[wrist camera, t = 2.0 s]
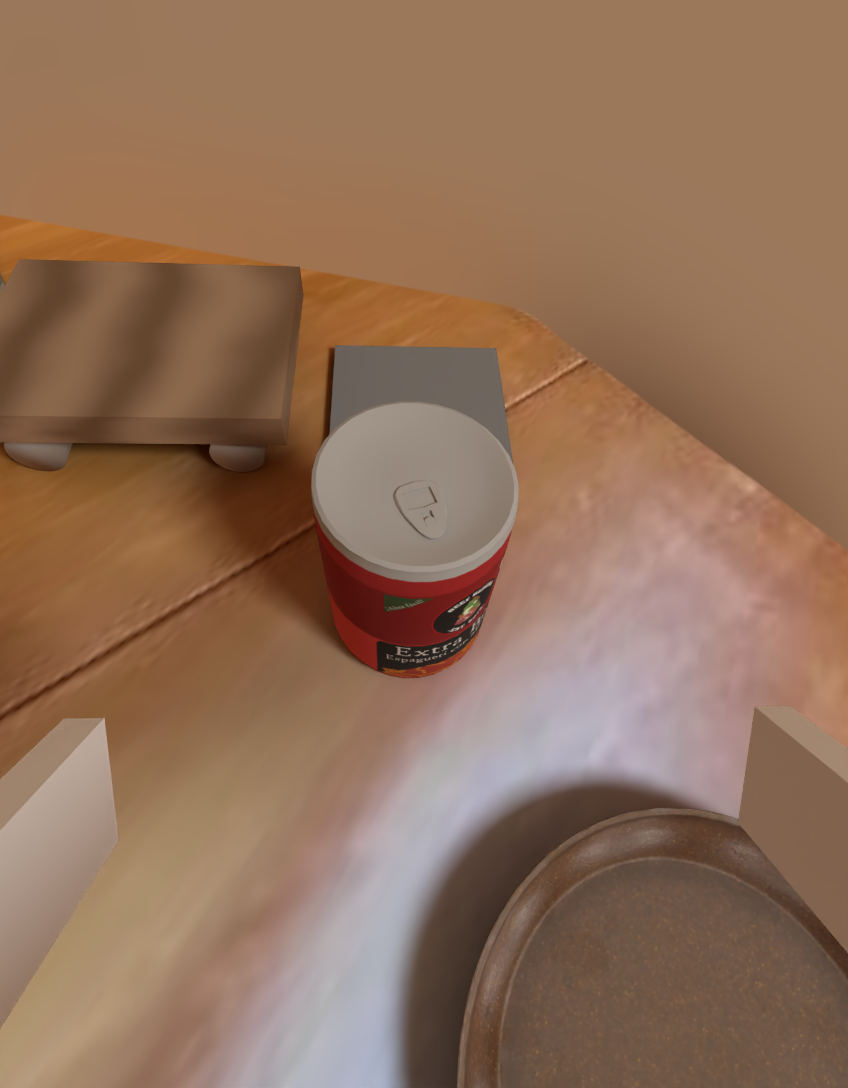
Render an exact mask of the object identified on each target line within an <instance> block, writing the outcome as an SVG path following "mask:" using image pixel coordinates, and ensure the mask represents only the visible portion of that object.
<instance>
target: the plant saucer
mask: <svg viewBox="0 0 848 1088" xmlns="http://www.w3.org/2000/svg"><path fill="white" fill-rule="evenodd" d="M457 1088H848V953H847V952H846V950H845V949H844V948H843V947H842V946H841V944H840V943H839V942H838V941H837V940H836V939H835V937H834V936H833V935H832V934H831V933H830V931H829V930H828V929H827V928H826V927H825V925H824V924H823V923H822V922H821V921H820V920H819V918H818V917H817V916H816V915H815V914H814V912H813V911H812V910H811V909H810V908H809V906H808V905H807V904H806V903H805V902H804V901H803V899H802V898H801V897H800V896H799V895H798V893H797V892H796V891H795V890H794V889H793V887H792V886H791V885H790V884H789V883H788V882H787V880H786V879H785V878H784V877H783V876H782V874H781V873H780V872H779V871H778V870H777V868H776V867H775V866H774V865H773V864H772V862H771V861H770V860H769V859H768V858H767V857H766V855H765V854H764V853H763V852H762V851H761V849H760V848H759V847H758V846H757V845H756V843H755V842H754V841H753V840H752V839H751V838H750V836H749V835H748V834H747V833H746V832H745V830H744V829H743V828H742V827H741V826H740V824H739V823H738V819H736V818H733V817H730V816H726V815H723V814H718V813H714V812H709V811H703V810H696V809H687V808H654V809H647V810H640V811H634V812H629V813H625V814H621V815H618V816H614V817H611V818H609V819H606V820H603V821H601V822H598V823H596V824H594V825H592V826H590V827H588V828H586V829H584V830H582V831H580V832H578V833H577V834H575V835H574V836H572V837H570V838H569V839H567V840H566V841H565V842H563V843H562V844H560V845H559V846H558V847H556V848H555V849H554V850H553V851H551V852H550V853H549V854H548V855H547V856H546V857H544V858H543V859H542V860H541V861H540V862H539V863H538V864H537V865H536V866H535V867H534V868H533V870H532V871H531V872H530V873H529V874H528V875H527V876H526V877H525V878H524V880H523V881H522V882H521V883H520V884H519V886H518V887H517V888H516V890H515V891H514V893H513V894H512V896H511V897H510V899H509V900H508V901H507V903H506V904H505V906H504V908H503V910H502V911H501V913H500V915H499V917H498V918H497V920H496V922H495V924H494V926H493V928H492V930H491V932H490V934H489V936H488V938H487V940H486V943H485V945H484V948H483V950H482V952H481V955H480V958H479V961H478V964H477V967H476V970H475V973H474V976H473V979H472V983H471V986H470V989H469V993H468V997H467V1002H466V1006H465V1011H464V1017H463V1024H462V1029H461V1035H460V1043H459V1052H458V1072H457Z"/></svg>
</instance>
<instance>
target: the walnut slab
mask: <svg viewBox="0 0 848 1088" xmlns="http://www.w3.org/2000/svg"><path fill="white" fill-rule="evenodd" d="M302 303H303V288H302V281H301V273H300V267H287V266H250V265H213V264H175V263H138V262H101V261H64V260H27V259H19V261H18V263H17V264H16V266H15V268H14V270H13V272H12V274H11V275H10V277H9V279H8V281H7V283H6V285H5V286H4V288H3V290H2V292H1V294H0V442H4V449H5V451H6V453H7V454H8V455H9V456H10V457H11V458H12V459H14V460H15V461H17V462H18V463H20V464H22V465H24V466H27V467H29V468H32V469H36V470H42V471H55V470H59V469H61V468H63V467H64V466H65V464H66V461H67V458H68V455H69V453H70V450H71V447H72V444H73V443H134V444H210V449H209V453H210V456H211V458H212V459H213V460H214V462H216V463H217V464H218V465H219V466H221V467H223V468H225V469H228V470H231V471H236V472H250V471H253V470H256V469H258V468H259V467H261V466H262V464H263V463H264V458H265V451H266V445H286V442H287V433H288V425H289V416H290V407H291V398H292V390H293V381H294V372H295V364H296V355H297V346H298V338H299V329H300V320H301V311H302Z"/></svg>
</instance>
